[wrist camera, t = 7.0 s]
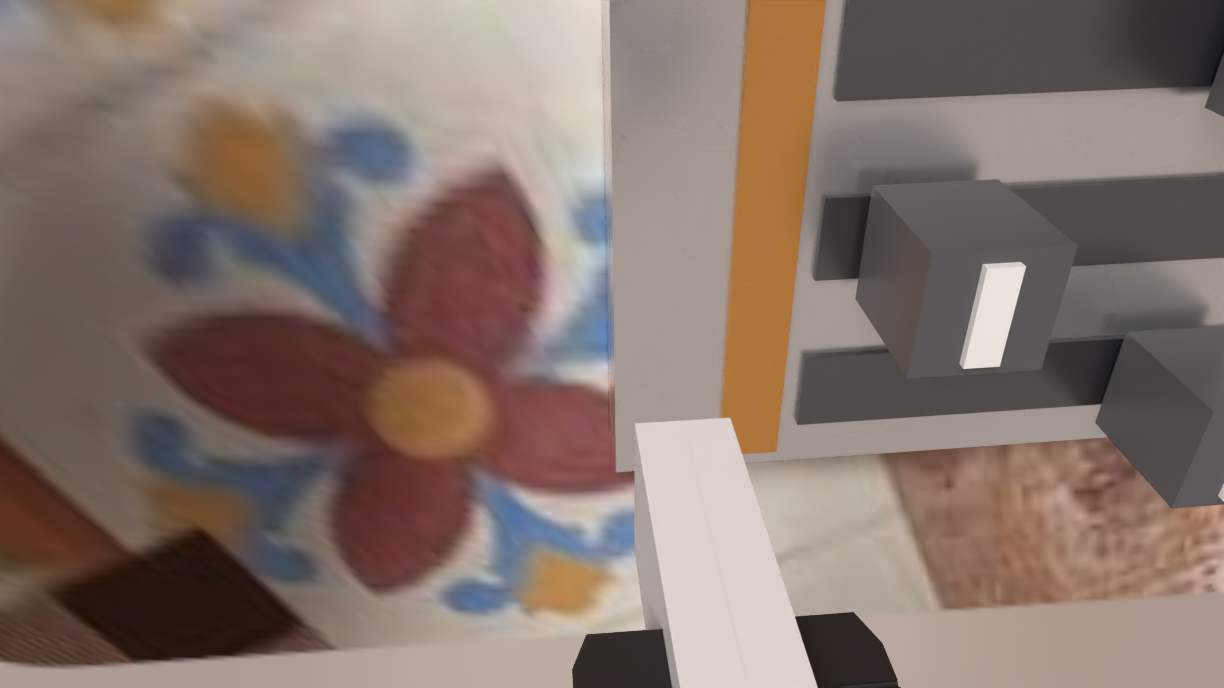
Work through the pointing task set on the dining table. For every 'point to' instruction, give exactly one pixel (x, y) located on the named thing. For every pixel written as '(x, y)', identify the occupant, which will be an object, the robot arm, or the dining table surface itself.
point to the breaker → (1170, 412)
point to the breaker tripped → (961, 277)
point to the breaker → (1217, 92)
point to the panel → (882, 155)
